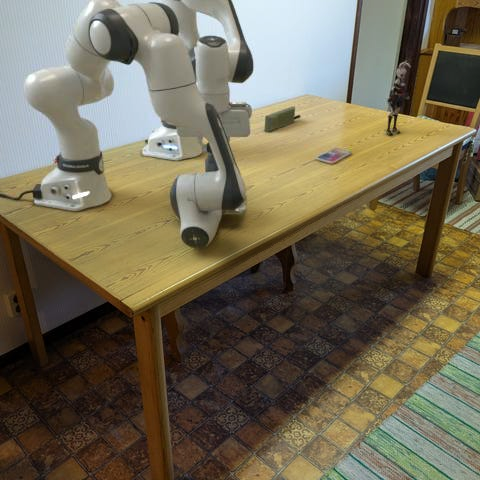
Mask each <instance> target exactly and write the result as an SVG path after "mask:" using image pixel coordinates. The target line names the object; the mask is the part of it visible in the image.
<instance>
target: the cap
mask: <svg viewBox="0 0 480 480" xmlns="http://www.w3.org/2000/svg"><path fill="white" fill-rule="evenodd" d="M206 145H207V152H206V153H208V154H209V153H213V152H212V150H211V147H210V144H209V142H206Z"/></svg>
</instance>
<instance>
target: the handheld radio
mask: <svg viewBox="0 0 480 480" xmlns="http://www.w3.org/2000/svg"><path fill="white" fill-rule="evenodd" d="M300 118H301V115H300V114H298V115H296V106H295V105H293V106H289V107H286V108H284V109H281V110H279V111H276V112H273V113H270V114H267V115H265V117H264V132H266V133H269V132H272V131H274V130H277V129H279V128H282V127H284V126H287V125H290V124H292V123H294V122H295V120H297V119H300Z"/></svg>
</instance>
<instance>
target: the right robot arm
mask: <svg viewBox="0 0 480 480" xmlns="http://www.w3.org/2000/svg"><path fill="white" fill-rule="evenodd" d="M161 1H162V2H161V3H162V4H165V5H167V6H169V7H170V8H171V9H172V10H173V11H174V13H175V15H176V17H177V20H178V24H179V34H178V36H179V37H180V38H181V39H182V40H183V41H184V43H185V46H186V48H187V51H188V54H189V57H190V60H191V63H192V66H193V70H194V75H195V79H196V83H197V84H196V85H197V88H198V90H199V93H200V94H201V96H202V98H203V99H204V100H205V101H206V102H207V103H209V104H211V105H213V106H214V108H215V109H216V111H217V113H218V115H219V117H220V120H221V122H222V125H223V128H224V130H225V133H226V136H227V139H228V142H229V143H230V141H231V138H248V137H249V136H250V134H251V122H250V119H251V117H252V115H253V109H252V106H251V105H250V104H249V103H247V102H245V101H241V102H239V101H238V102H237V101H231V99H230V97H231V96H230V93H231V89H230V85H229V83H231V84H243V83H245V82H246V81H247V80H249V79H250V77H251V76H252V75H253V73H254V65H255V63H254V57H253V55H252V54H253V53H252V51H251V49H250V47H249V45H248V42H247V41H246V38H245V35H244V33H243V32H244V31H243V28H242V26H241V23H240V20H239V17H238V14H237V11H236V8H235V6H234V2H233V0H161ZM197 13H200V14H204V15H205V16H208V17H211V18H213V19H215V20H217V22H219V23H220V24H221V26H222V28H223V31H224V34H225V37H226V39H225V38H223V37H222V36H218V35H204V36H201V35H200V32H199V29H198V23H197ZM160 123H161V125H159V127H157V128H156V129H155V130H152V132H151V133H150V135H149V136H148V139H145V140H144V142H145V143H147V145H145V146H144V147H143V148H142V150H141V155H142V156H145V157H152V158H157V159H164V160H170V161H176V162H178V161H182V160H185V159H190V158H191V159H192V158H196V157H198V156H200V155H202V153H208V152H207V143H206V144H205V143H204V141H203V140H204V138H205V137H204V136H203V135H201V134H199V133H197V132H195V131H192V130H189V129H185V128H180V127H176V126H173V125H171V124H169V123H167V122H165V121H163V120H162V119H161V118H160Z"/></svg>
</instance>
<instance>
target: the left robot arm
mask: <svg viewBox="0 0 480 480" xmlns="http://www.w3.org/2000/svg"><path fill="white" fill-rule="evenodd" d="M178 34H179V24H178V20H177V17H176V15H175V13H174V11H173V10H172V9H171V8H170V7H169V6H167V5H165V4H162V2H156V1H150V2H147V3H146V2H136V3H129V4H125V5H122V4H121V3H120V2H119V1H117V0H90V1H89V2H88V3H87V4H86V5H85V7H84V8H83V9H82V11H81V12H80V14H79V15H78V17H77V19H76V21H75V22H74V25H73V27H72V29H71V31H70V33H69V36H68V38H67V40H66V43H65V45H64V55H65V59H66V61H67V63H68V64H64V65H59V66H53V67H47V68H42V69H40V70H36V71H35V72H32V73H30V74H28V75H27V76H26V77H25V79H24V84H23V94H24V98H25V99H26V101H27V103H28V105H30V106H31V108H33V109H34V110H36V111H37V112H39V113H41V114H43V116H45V117H46V119H48V120H49V121H50V123H51V124H52V126H53V128H54V130H55V132H56V136H57V141H58V145H59V151H60V152H59V154H58V155H56V156H55V158H53V164H57V166H56V167H54V168H53V169H52V170H51V171H50V172H49V173H48V174H46V175H45V176H44V177H43V179H42V181H41V183H36V184H35V185H34V187H33V189H30V190H26V191H23V192H20V194H19V196H17V197H12V196H10V195H7V194H4V193H1V192H0V197H4V198H6V199H9V200H12V201H19V200H21V199H22V198H23V196H24V195H27V194H32V198H33V199H34V200H33V201H34V205H36V206H42V207H46V208H47V207H48V208H54V209H59V210H65V211H70V212H71V211H72V212H80V211H83V210H85V209H89V208H94V207H98V206H101V205H103V204H105V203H107V202H109V201H110V200H111V198H112V192H111V190H110V188H109V185H108V183H107V179H106V174H105V162H104V156H103V152H102V151H101V146H100V138H99V130H98V127H97V126H96V125H95V123H94V122H92V121H91V120H89V119H86V118H84V117H82V116H81V115H80V112H79V107H81V106H87V105H90V104H94V103H95V104H96V103H98V102H100V101H102V100H104V99H106V98H108V97H110V96H111V95H112V94H113V92H114V89H115V79H114V76H113V73H112V71H111V69H110V68H109V65H110V63H111V62H117V63H120V64H124V65H127V66H130V65H131V64H132V63H133V61H134V62H136V63H138V64H139V65H140V66H141V68H142V69H143V72H144V76H145V81H146V86H147V91H148V96H149V100H150V103H151V104H150V105H151V106H152V109H153V111H154V113H155V114H156V116H157V117H158V118H160V120H161V119H162V120H163V121H165V122H167V123H169V124H171V125H173V126H176V127H180V128H185V129H189V130H192V131H195V132H197V133H199V134H201V135H203V136H204V137H203V138H204V139H206V140H207V143H209V144H210V147H211V150H212V152H213V155H214V158H215V161H216V163H217V166H218V169H219V170H218V171H213V172H205V171H204V172H193V173H192V172H191V173H185V174H179V175H177V177H175V179H174V181H173V183H172V184H171V186H170V190H169V201H170V207H171V209H172V212H173V213H174V215H175V217H176V219H177V220H178V221H180V230H179V236H180V239H181V241H182V243H183V244H184V245H185V246H187V247H189V248H192V249H203V248H206V247H207V246H208V245H210V244H211V242H212V241H213V240H214V238H215V236H216V233H217V231H218V228H219V224H220V223H221V220H222V216H223V215H241V214H242V213H245V212H246V210H247V203H248V202H247V201H248V196H247V195H248V194H247V187H246V183H245V180H244V178H243V176H242V174H241V171H240V169H239V167H238V164H237V162H236V159H235V156H234V153H233V150H232V148H231V145H230V142H228V139H227V136H226V133H225V130H224V128H223V125H222V122H221V120H220V117H219V115H218V113H217V111H216V109H215V108H214V106H213V105H211V104H209V103H207V102H206V101H205V100H204V99H203V98H202V96H201V94H200V93H199V90H198V88H197V85H198V84H197V82H196V79H195V75H194V70H193V66H192V63H191V60H190V57H189V54H188V51H187V48H186V46H185V43H184V41H183V40H182V39H181V38H180V37H179V36H178Z"/></svg>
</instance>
